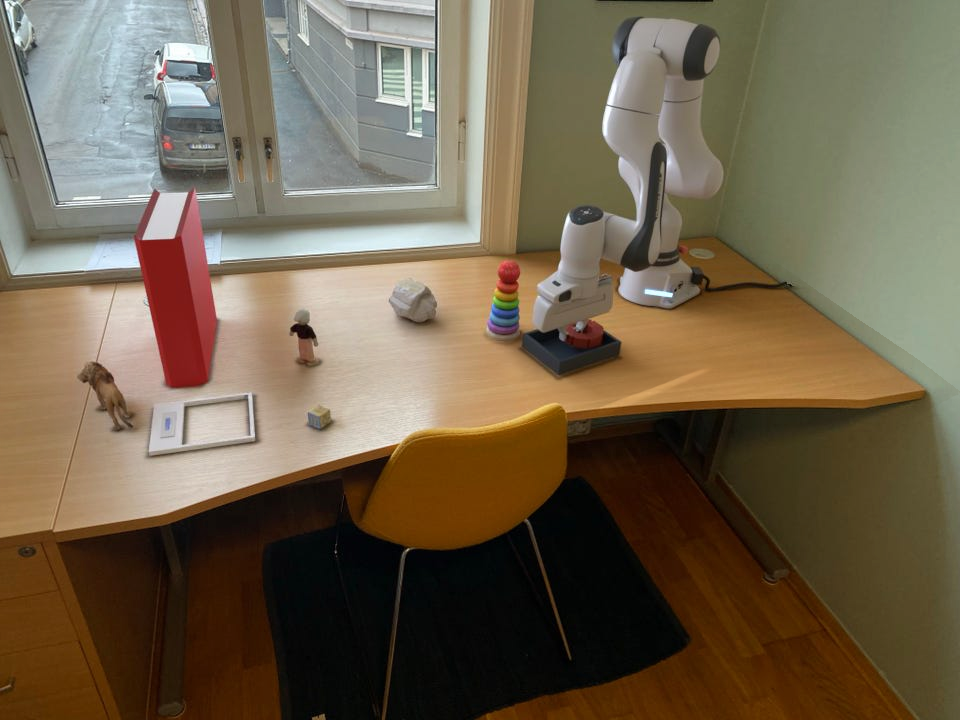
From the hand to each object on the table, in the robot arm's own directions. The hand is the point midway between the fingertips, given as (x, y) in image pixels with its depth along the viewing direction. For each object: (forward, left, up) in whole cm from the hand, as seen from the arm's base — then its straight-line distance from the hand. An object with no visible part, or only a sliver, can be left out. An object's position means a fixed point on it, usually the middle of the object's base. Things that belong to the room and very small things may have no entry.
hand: (570, 337), depth 163 cm
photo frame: (+78, -13, -4) cm, 79 cm away
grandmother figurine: (+53, -25, -5) cm, 58 cm away
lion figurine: (+92, -25, -5) cm, 95 cm away
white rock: (+23, -32, -5) cm, 39 cm away
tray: (0, 0, -4) cm, 4 cm away
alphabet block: (+59, -3, -5) cm, 59 cm away
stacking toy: (+9, -14, -5) cm, 17 cm away
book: (+73, -40, -5) cm, 83 cm away
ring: (-3, 0, -1) cm, 4 cm away
